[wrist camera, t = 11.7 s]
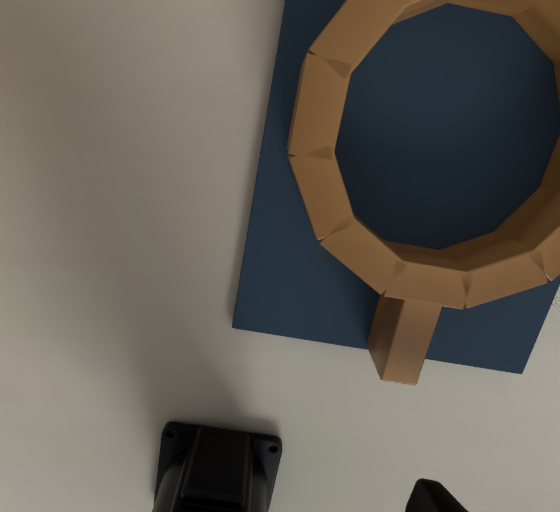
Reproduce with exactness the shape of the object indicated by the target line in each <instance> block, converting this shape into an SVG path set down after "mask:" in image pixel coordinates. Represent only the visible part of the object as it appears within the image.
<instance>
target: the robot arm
mask: <svg viewBox="0 0 560 512" xmlns="http://www.w3.org/2000/svg"><path fill="white" fill-rule="evenodd" d="M170 431H174V432H175V433H171V432H170ZM271 445H275V446H276V447H270V446H271ZM281 453H282V441H281V439H280V438H278V437H276V436H270V435H263V434H256V433H249V432H243V431H236V430H229V429H222V428H215V427H208V426H201V425H194V424H187V423H180V422H169V423H167V424H166V425H165V427H164V429H163V432H162V438H161V447H160V455H159V464H158V473H157V481H156V490H155V499H154V507H153V510H152V512H268V510H269V506H270V501H271V497H272V492H273V488H274V484H275V479H276V475H277V471H278V466H279V462H280V457H281ZM405 512H468V511H467V510H466V509H465V508H464V507H463V506H462V505H461V504H460V503H459V502H458V501H457V500H456V499H455V498H454V497H453V496H452V495H451V494H450V493H449V491H448V490H447V489H446V488H445V487H444V486H443V485H442V484H441V483H439V482H438V481H434V480H429V479H423V478H421V479H418V480H417V482H416V483H415V486H414V488H413V491H412V493H411V495H410V498H409V500H408V503H407V505H406V509H405Z"/></svg>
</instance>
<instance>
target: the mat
mask: <svg viewBox="0 0 560 512" xmlns="http://www.w3.org/2000/svg"><path fill="white" fill-rule="evenodd" d="M345 1H346V0H285V6H284V12H283V18H282V24H281V31H280V37H279V43H278V49H277V55H276V61H275V67H274V73H273V80H272V86H271V92H270V98H269V104H268V110H267V116H266V122H265V128H264V135H263V141H262V147H261V153H260V159H259V165H258V171H257V177H256V184H255V190H254V196H253V202H252V208H251V214H250V220H249V226H248V232H247V239H246V245H245V251H244V257H243V263H242V269H241V275H240V281H239V288H238V294H237V300H236V306H235V312H234V318H233V324H232V328H236V329H242V330H248V331H255V332H261V333H267V334H274V335H280V336H286V337H292V338H299V339H305V340H311V341H317V342H324V343H330V344H336V345H342V346H349V347H355V348H361V349H367V350H368V347H367V340H368V337H369V333H370V330H371V326H372V322H373V319H374V315H375V312H376V308H377V304H378V301H379V297H380V294H379V293H378V292H377V291H375V290H374V289H373V288H372V287H371V286H369V285H368V284H367V283H366V282H365V281H363V280H362V279H361V278H360V277H359V276H357V275H356V274H355V273H354V272H353V271H351V270H350V269H349V268H348V267H347V266H345V265H344V264H343V263H342V262H341V261H339V260H338V259H337V258H336V257H335V256H333V255H332V254H331V253H330V252H329V251H327V250H326V249H325V248H324V247H323V246H321V245H320V243H319V240H317V239H316V236H315V233H314V230H313V228H312V225H311V222H310V219H309V216H308V213H307V210H306V207H305V204H304V202H303V199H302V196H301V193H300V190H299V187H298V184H297V181H296V178H295V175H294V172H293V170H292V167H291V164H290V161H289V158H288V155H287V153H288V151H287V143H288V137H289V132H290V126H291V121H292V115H293V109H294V104H295V98H296V93H297V87H298V82H299V76H300V70H301V66H302V63H303V61H304V59H305V56H306V54H307V52H308V50H309V47H310V46H311V45H312V43H313V42H314V41H315V39H316V38H317V37H318V36H319V34H320V33H321V32H322V31H323V29H324V28H325V27H326V25H327V24H328V23H329V22H330V20H331V19H332V18H333V17H334V15H335V14H336V13H337V11H338V10H339V9H340V8H341V6H342V5H343V4H344V2H345ZM559 134H560V109H559V101H558V94H557V87H556V80H555V72H554V65H553V63H552V61H551V60H550V59H549V58H548V57H547V56H546V55H545V53H544V52H543V51H542V50H541V49H540V48H539V47H538V46H537V44H536V43H535V42H534V41H533V40H532V39H531V38H530V36H529V35H528V34H527V33H526V32H525V31H524V30H523V29H522V27H521V26H520V25H519V24H518V23H517V22H516V21H515V19H514V18H513V17H511V16H507V15H502V14H497V13H493V12H488V11H483V10H479V9H474V8H469V7H465V6H460V5H455V4H451V3H446V4H444V5H441V6H439V7H436V8H433V9H431V10H428V11H426V12H423V13H421V14H418V15H416V16H413V17H410V18H408V19H405V20H403V21H400V22H398V23H395V24H393V25H391V26H390V27H389V28H388V29H387V31H386V32H385V33H384V34H383V35H382V37H381V38H380V39H379V40H378V42H377V43H376V44H375V45H374V46H373V48H372V49H371V50H370V51H369V52H368V54H367V55H366V56H365V57H364V58H363V60H362V61H361V62H360V63H359V65H358V66H357V67H356V68H355V69H354V71H353V72H352V73H351V76H350V80H349V85H348V90H347V94H346V99H345V104H344V108H343V113H342V118H341V122H340V127H339V132H338V136H337V141H336V146H335V150H334V153H335V156H336V159H337V162H338V166H339V169H340V172H341V175H342V179H343V182H344V185H345V188H346V192H347V195H348V198H349V201H350V205H351V208H352V211H353V213H354V214H355V215H356V216H357V217H358V218H359V219H360V220H362V221H363V222H364V223H365V224H366V225H367V226H368V227H370V228H371V229H372V230H373V231H374V232H375V233H376V234H378V235H379V236H380V237H381V238H382V239H383V240H386V241H391V242H397V243H403V244H409V245H414V246H420V247H426V248H431V249H437V250H440V249H443V248H446V247H449V246H452V245H455V244H458V243H461V242H464V241H467V240H470V239H473V238H476V237H479V236H482V235H485V234H488V233H491V232H494V231H495V230H496V229H497V228H498V227H499V226H500V225H501V224H502V223H503V222H504V221H505V220H506V219H507V218H508V217H509V216H510V215H511V214H512V213H513V212H514V211H515V210H517V209H518V208H519V207H520V206H521V205H522V204H523V203H524V202H525V201H526V200H527V199H528V198H529V197H530V196H531V195H532V194H533V193H534V192H535V191H536V190H537V189H538V188H539V187H540V184H541V182H542V179H543V176H544V174H545V171H546V168H547V166H548V163H549V160H550V158H551V155H552V152H553V150H554V147H555V144H556V142H557V139H558V136H559ZM559 285H560V274H559V275H558V276H557V277H556V278H555V279H554V280H552V281H550V280H548V279H547V283H546V284H543V285H540V286H537V287H534V288H531V289H527V290H524V291H521V292H518V293H515V294H512V295H508V296H505V297H502V298H499V299H496V300H493V301H489V302H486V303H483V304H480V305H477V306H474V307H470V308H465V307H464V308H463V309H457V308H451V307H445V306H442V308H441V311H440V314H439V317H438V320H437V323H436V326H435V329H434V332H433V335H432V339H431V342H430V345H429V348H428V351H427V354H426V357H425V359H430V360H436V361H442V362H449V363H455V364H461V365H468V366H474V367H480V368H486V369H493V370H499V371H505V372H511V373H518V374H522V373H523V370H524V368H525V365H526V363H527V361H528V358H529V356H530V354H531V351H532V349H533V347H534V344H535V342H536V339H537V337H538V335H539V332H540V330H541V328H542V325H543V323H544V320H545V318H546V316H547V313H548V311H549V309H550V306H551V304H552V301H553V299H554V297H555V294H556V292H557V290H558V287H559Z"/></svg>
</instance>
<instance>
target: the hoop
mask: <svg viewBox="0 0 560 512" xmlns="http://www.w3.org/2000/svg"><path fill="white" fill-rule="evenodd" d="M446 3H451V4H455V5H460V6H465V7H469V8H474V9H479V10H483V11H488V12H493V13H497V14H502V15H507V16H511V17H513V18H514V19H515V21H516V22H517V23H518V24H519V25H520V26H521V27H522V29H523V30H524V31H525V32H526V33H527V34H528V35H529V36H530V38H531V39H532V40H533V41H534V42H535V43H536V44H537V46H538V47H539V48H540V49H541V50H542V51H543V52H544V53H545V55H546V56H547V57H548V58H549V59H550V60H551V61H552V63H553V65H554V72H555V80H556V87H557V94H558V101H559V109H560V0H346V1H345V2H344V4H343V5H342V6H341V8H340V9H339V10H338V11H337V13H336V14H335V15H334V17H333V18H332V19H331V20H330V22H329V23H328V24H327V25H326V27H325V28H324V29H323V31H322V32H321V33H320V34H319V36H318V37H317V38H316V39H315V41H314V42H313V43H312V45H311V46H310V47H309V50H308V52H307V54H306V56H305V59H304V61H303V63H302V66H301V70H300V76H299V82H298V87H297V93H296V98H295V104H294V109H293V115H292V121H291V126H290V132H289V137H288V143H287V151H288V153H287V155H288V158H289V161H290V164H291V167H292V170H293V172H294V175H295V178H296V181H297V184H298V187H299V190H300V193H301V196H302V199H303V202H304V204H305V207H306V210H307V213H308V216H309V219H310V222H311V225H312V228H313V230H314V233H315V236H316V239H317V240H319V243H320V245H321V246H323V247H324V248H325V249H326V250H327V251H329V252H330V253H331V254H332V255H333V256H335V257H336V258H337V259H338V260H339V261H341V262H342V263H343V264H344V265H345V266H347V267H348V268H349V269H350V270H351V271H353V272H354V273H355V274H356V275H357V276H359V277H360V278H361V279H362V280H363V281H365V282H366V283H367V284H368V285H369V286H371V287H372V288H373V289H374V290H375V291H377V292H378V293H379V294H380V297H379V301H378V304H377V308H376V312H375V315H374V319H373V322H372V326H371V330H370V333H369V337H368V340H367V347H368V350H369V352H370V355H371V357H372V359H373V362H374V364H375V367H376V369H377V372H378V374H379V376H380V379H381V380H383V381H390V382H396V383H403V384H409V385H416V384H417V381H418V378H419V375H420V372H421V369H422V366H423V363H424V360H425V357H426V354H427V351H428V348H429V345H430V342H431V339H432V335H433V332H434V329H435V326H436V323H437V320H438V317H439V314H440V311H441V308H442V306H445V307H451V308H457V309H463V308H464V307H465V308H470V307H474V306H477V305H480V304H483V303H486V302H489V301H493V300H496V299H499V298H502V297H505V296H508V295H512V294H515V293H518V292H521V291H524V290H527V289H531V288H534V287H537V286H540V285H543V284H546V283H547V279H548V280H550V281H552V280H554V279H555V278H556V277H557V276H558V275H559V274H560V134H559V136H558V139H557V142H556V144H555V147H554V150H553V152H552V155H551V158H550V160H549V163H548V166H547V168H546V171H545V174H544V176H543V179H542V182H541V184H540V187H539V188H538V189H537V190H536V191H535V192H534V193H533V194H532V195H531V196H530V197H529V198H528V199H527V200H526V201H525V202H524V203H523V204H522V205H521V206H520V207H519V208H518V209H517V210H515V211H514V212H513V213H512V214H511V215H510V216H509V217H508V218H507V219H506V220H505V221H504V222H503V223H502V224H501V225H500V226H499V227H498V228H497V229H496V230H495V231H494V232H491V233H488V234H485V235H482V236H479V237H476V238H473V239H470V240H467V241H464V242H461V243H458V244H455V245H452V246H449V247H446V248H443V249H440V250H437V249H431V248H426V247H420V246H414V245H409V244H403V243H397V242H391V241H386V240H383V239H382V238H381V237H380V236H379V235H378V234H376V233H375V232H374V231H373V230H372V229H371V228H370V227H368V226H367V225H366V224H365V223H364V222H363V221H362V220H360V219H359V218H358V217H357V216H356V215H355V214H354V213H353V211H352V208H351V205H350V201H349V198H348V195H347V192H346V188H345V185H344V182H343V179H342V175H341V172H340V169H339V166H338V162H337V159H336V156H335V153H334V150H335V146H336V141H337V136H338V132H339V127H340V122H341V118H342V113H343V108H344V104H345V99H346V94H347V90H348V85H349V80H350V76H351V73H352V72H353V71H354V69H355V68H356V67H357V66H358V65H359V63H360V62H361V61H362V60H363V58H364V57H365V56H366V55H367V54H368V52H369V51H370V50H371V49H372V48H373V46H374V45H375V44H376V43H377V42H378V40H379V39H380V38H381V37H382V35H383V34H384V33H385V32H386V31H387V29H388V28H389V27H390V26H391V25H393V24H395V23H398V22H400V21H403V20H405V19H408V18H410V17H413V16H416V15H418V14H421V13H423V12H426V11H428V10H431V9H433V8H436V7H439V6H441V5H444V4H446Z"/></svg>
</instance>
